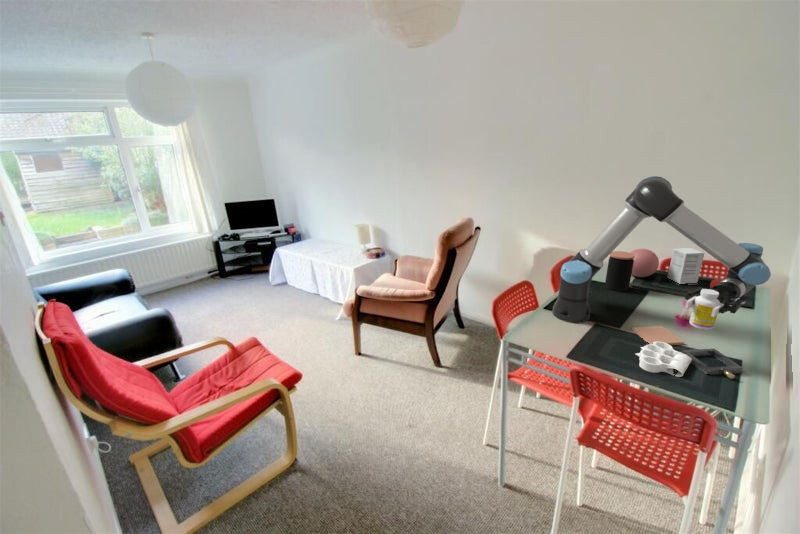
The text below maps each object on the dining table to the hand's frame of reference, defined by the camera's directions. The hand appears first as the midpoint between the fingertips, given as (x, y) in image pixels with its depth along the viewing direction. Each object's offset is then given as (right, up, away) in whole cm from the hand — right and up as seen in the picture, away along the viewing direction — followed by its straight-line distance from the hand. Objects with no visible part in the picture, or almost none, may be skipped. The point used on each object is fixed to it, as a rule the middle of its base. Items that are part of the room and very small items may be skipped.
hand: (699, 308), depth 119 cm
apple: (+52, +1, +52) cm, 74 cm away
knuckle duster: (-8, -20, +7) cm, 22 cm away
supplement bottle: (+5, -7, +5) cm, 10 cm away
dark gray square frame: (+7, -20, +3) cm, 21 cm away
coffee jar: (+11, +3, +65) cm, 66 cm away
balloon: (+29, +9, +79) cm, 85 cm away
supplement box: (+47, +6, +68) cm, 83 cm away
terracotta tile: (+1, -13, +21) cm, 25 cm away
